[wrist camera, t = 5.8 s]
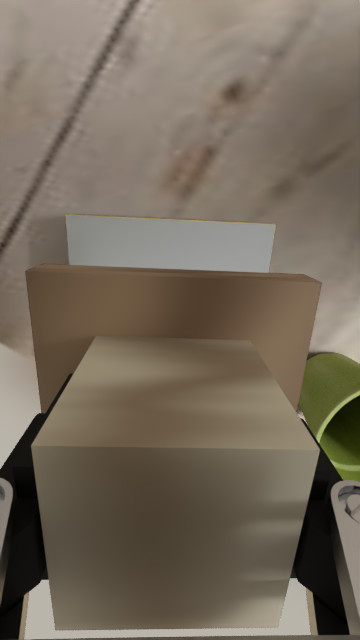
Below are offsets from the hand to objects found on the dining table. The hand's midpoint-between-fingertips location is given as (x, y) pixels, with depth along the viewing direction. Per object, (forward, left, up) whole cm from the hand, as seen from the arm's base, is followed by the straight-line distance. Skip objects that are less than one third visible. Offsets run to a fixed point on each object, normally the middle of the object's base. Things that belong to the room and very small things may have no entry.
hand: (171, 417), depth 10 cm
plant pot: (-15, +8, -17) cm, 24 cm away
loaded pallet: (0, 0, -2) cm, 2 cm away
